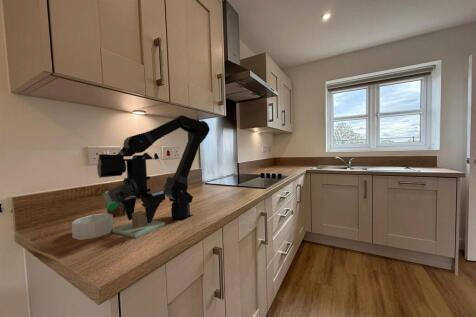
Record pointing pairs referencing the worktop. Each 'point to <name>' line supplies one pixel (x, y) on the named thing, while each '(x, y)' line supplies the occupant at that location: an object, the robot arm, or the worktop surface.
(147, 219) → the robot arm
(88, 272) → the worktop surface
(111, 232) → the mat
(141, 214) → the lid
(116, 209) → the food container
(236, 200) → the worktop surface
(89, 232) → the bowl
